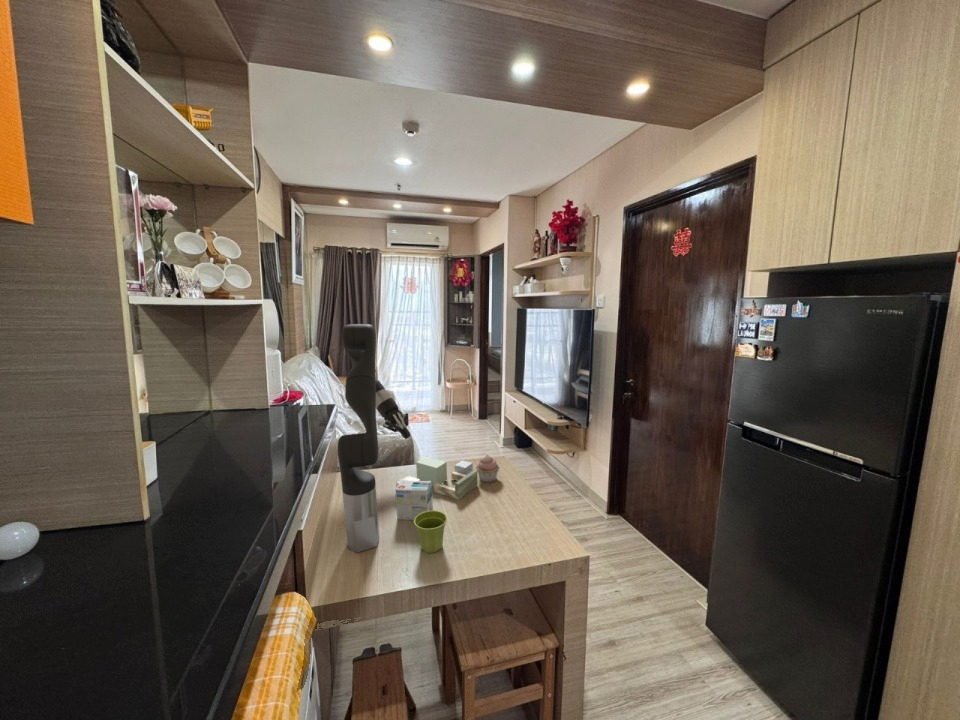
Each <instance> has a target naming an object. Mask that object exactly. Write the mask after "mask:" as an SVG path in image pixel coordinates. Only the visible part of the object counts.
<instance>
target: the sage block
mask: <svg viewBox="0 0 960 720" xmlns="http://www.w3.org/2000/svg"><path fill="white" fill-rule="evenodd" d="M415 465H416V478H417V479H420V481H431V483H432V485H433V486H434V484H435V483H439V484H442V483H444V482H445V481H446V480H447V481H448V468H447V467H448V466H447V465H448V464H447V461H445V460H441V459H437V458H433V457H430V456H424V457H423V458H420V459H419V460H418V461H416V462H415ZM445 483H446V482H445ZM445 483H444V484H445ZM433 486H432V487H433Z"/></svg>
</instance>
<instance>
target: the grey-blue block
mask: <svg viewBox="0 0 960 720" xmlns="http://www.w3.org/2000/svg"><path fill="white" fill-rule="evenodd" d="M473 464H474V463H473V462H470V461H466V460H461V461H459V462H457V463H456V464H455V465H454V472H458V473H461V474H465V475H467V474H469V473H470V472H471V471H473V470H474V469H473V467H474V466H473Z"/></svg>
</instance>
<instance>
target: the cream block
mask: <svg viewBox="0 0 960 720" xmlns="http://www.w3.org/2000/svg"><path fill="white" fill-rule="evenodd" d="M401 480H404V481H420V479H417V477H413V476H410V475H407V476H405V477H403V478H401V479H399V480H398V481H396V482H395V487H396V488H397V486H398V485H399V483H400V482H401ZM396 488H395V489H396Z"/></svg>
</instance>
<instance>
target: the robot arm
mask: <svg viewBox="0 0 960 720" xmlns="http://www.w3.org/2000/svg"><path fill="white" fill-rule="evenodd" d="M376 334H377V331H376V328H375V326H373V324H367V323H355V324H354V323H349V324H346V325H344V326H343V328H342V332H341V341H342V346H343V348H344V350H345V352H346V354H347V355H348V357H349V358H350V360H351V361H350V362H351V365H352V368H351V369H350V370H349V371H348V374H347V376H346V378H345V390H344V392H345V393H344V394H345V395H344V396H345V399H346V402H347V403H348V405H349V406H350V408H351V410H353V411H354V413H355V414H356V415H357V416H358V418H359V419H360V422H361V423H362V425H363V426H364V429H365V432H362V433H360V432H359V433H350V434H344V435H340V437H339V438H338V441H337V447H336V448H337V457H338V463H339V464H338V465H339V471H340V478H341V489H342V501H343V511H344V512H343V514H344V524H345V534H346V535H345V536H346V545H347V547H348V548H349V549H350V550H351V551H354V552H355V554H357V553H360V552H363V551H367V550H370V549H372V548H376V547H378V543H379V542H380V527H379V513H378V502H377V501H378V500H377V488H376V486H377V485H376V484H377V483H376V477H375V475H374V474H372V472H369V471H365V470H361V469H359V467H360V468H361V467H369V466H374V465H375V464H377V462H378V459H379V441H378V439H379V438H378V429H377V428H378V427H377V415H376V414H377V413H376V411H377V412H378V413H379V415H380V416H381V417H382V418H383V419H384V421H385V422H384V423H383V425H382V427H384V428H385V429H387V430H390V431H392V432H394V433H397V432H398V433H400V435H401V436H402V438H404V439H405V440H408V439H409V438H410V437H411V433H410V431H409V429H408V428H407V427H408V426H409V424H410V423H409V413H403V412H402V411H401V410H400V409H399V405H398V404H397V402H396V401H395V400H394V399H393V396H392V395H391V394H390V392H388V390H386V388H385V387H384V386H383V383H381V381H380V380H379V379H376V371H377V370H376V363H375V362H376V348H377V347H376V346H377V345H376V344H377V342H376V341H377V335H376Z"/></svg>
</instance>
